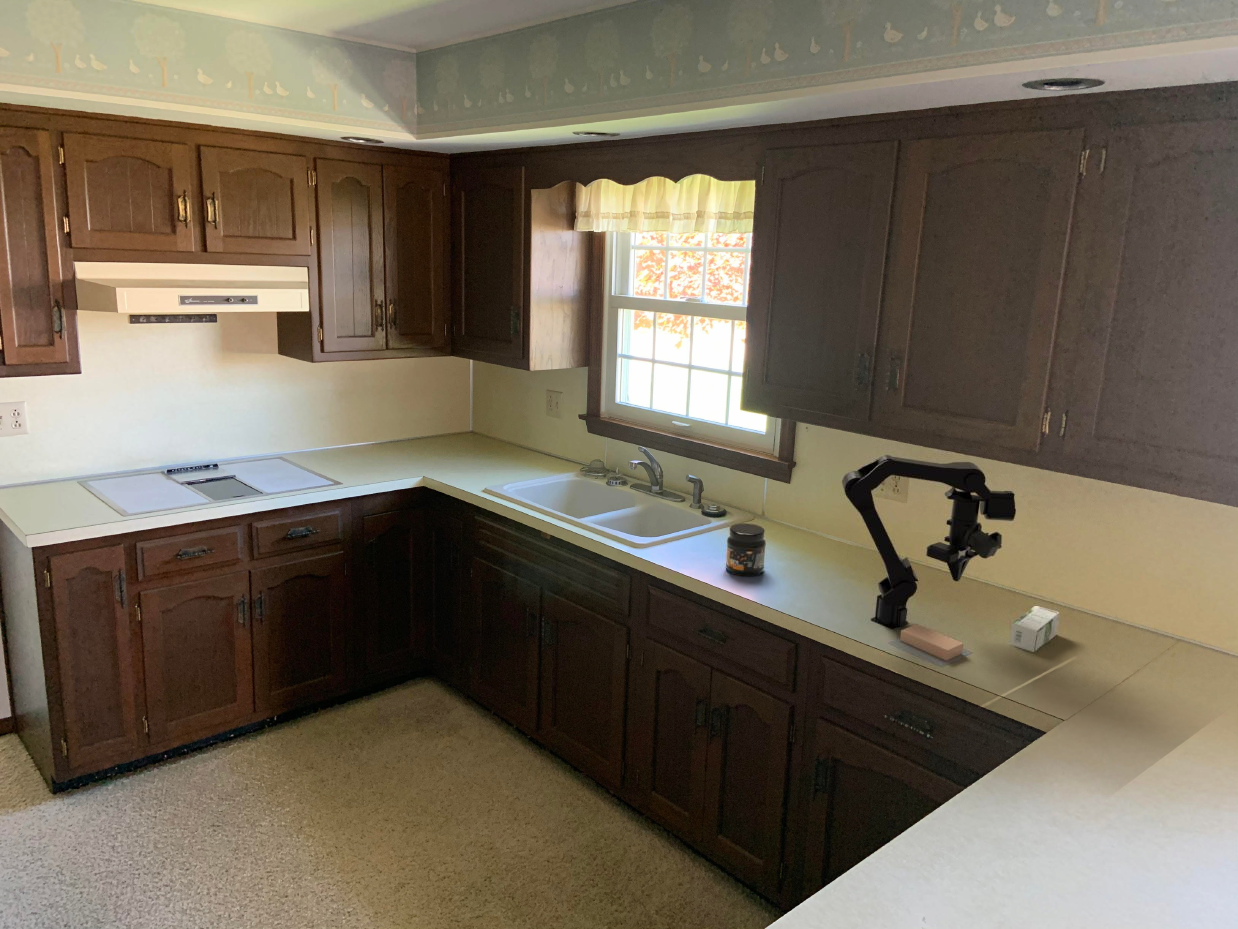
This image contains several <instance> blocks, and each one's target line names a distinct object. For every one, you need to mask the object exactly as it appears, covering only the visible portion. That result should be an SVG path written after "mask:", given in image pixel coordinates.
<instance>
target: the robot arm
mask: <svg viewBox="0 0 1238 929" xmlns="http://www.w3.org/2000/svg"><path fill="white" fill-rule="evenodd" d="M890 476H894V477H895V476H896V477H903V478H909V479H915V480H923V481H927V482H928V481H930V482H936V483H941V484H944V485H947V486H950V487H951V488H950V489H949V490H947V491H945V492H944V496H945V497H946V498H947V499H948V500H953V501H952V507H951V516H950V517H951V518H950V519H947V520H946V525H947V526H949V531H948V535H947V536H944V540H943V541H944V542H946V543H944V542H940V541H938V542H935V543H932V544H929V545H928V546H927V547H926V552H925V556H926V557H928V558H931V559H934V560H936V561H939V562H942V563H946V565H947V567H948V570H949V572H950V576H951V578H952V580H953V582H954V581H955V582H959V581H960V580H961V578H962V576H963V574H964V572H965V570H966V568H967V566H968V564H969V562H970V561H971V560H972V559H974V558H975V557H977V556H979V557H980V558H981V559H988V558H990V557H995V555H996V553H997V551H998V550H1000V549H1002V547H1003V546H1002V544H1003V536H1002V534H1001V533H1000V532H998V531H995V532H992V533H989V532H984V531H983V530H982V523H981V522H978V518H979V513H980V515H982V516H984V518H985V520H988V521H989V520H990V521H991V520H992V521H1005V522H1006V521H1007V522H1012V521H1014V519H1015V517H1016V513H1017V509H1016V501H1015V495H1016V494H1015V493H1014V492H1013V491H1012V490H1003V491H1002V490H1001V491H1000V490H990V488H989V487H988V486H987V485H986V475H985V473H984V472H983V471H982V470H981V469H980V468H979V467H978V465H977V464H975V463H974V462H971V461H953V462H948V463H939V462H932V461H931V462H930V461H926V460H918V459H910V458H903V457H898V456H897V457H896V456H892V455H890V454H883V455H881V456H880V457H879V458H877V459H875V460H874V461H871V462H869V463H867V464H865V465H862V467H860V468H858V469H857V470H851V471H849V472H847V473H846V474H844V476H843V478H842V479H841V480H842V481H841V484H842V488H843V491H844V495H845V496H846V498H847V499H848V500H849V502H850V504H852V505H853V507H854V509H856V511H857V512H858V513H859V514H860V516H861V518H862V520H863V522H864V523H865V526H866V528H867V530H868V532H869V534H870V537H871V538H872V540H873V542H874V545H875V547H876V548H877V551H878V553H879V555H880V557H881V560H882V561H883V566H884V570H885V573H886V577H885V578H884V579H882V580H881V581H879V582H878V583H877V587H878V589H879V593H880V594H878V595H877V596H876V603H875V612H874V613H875V614H874V617H871V618H870V621H872V622H873V623H876V624H879V625H880V626H882V627H885V628H888V629H889V630H895V629H898V628H900V627H902V626H905V625H907V624H909V621H907V616H908V608H907V602H908V600H909V599H910V598H911V597H913V596H914V595H915V594H916V592H917V590H918V585H917V582H919V579H918V577H917V574H916V572H915V571H914V569H913V567H912V565H911V563H910V561H909V559H908V556H906V557H905V558H903V559H902V558H901V557H900V556H899V554H898V553H897V550H896V549H895V547H894V544H893V543H892V540H891V539H890V536H889V534H888V532H887V530H886V528H885V525H884V523H883V521H882V519H881V517H880V515H879V513H878V511H877V509H876V506H875V501H874V497H873V494H872V492H873V490H875V489H877V488H878V487H879V486H880V485H881V484H882V483H883V482H884V481H886V480H887V479H888V478H889V477H890ZM947 543H949V544H947Z"/></svg>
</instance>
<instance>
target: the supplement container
mask: <svg viewBox="0 0 1238 929" xmlns="http://www.w3.org/2000/svg"><path fill="white" fill-rule="evenodd" d="M728 534H729V536H728V537H727V538H726V543H727V545H726V556H725V558H726V560H725V567H726V569H727V571H728V572H730V573H732V574H733V575H737V576H743V577H753V576H757V575H760V574H762V572H764V569H765V559H766V558H765V555H766V546H767V540H766V539H765V536H766V535H765V534H766V530H765V528H763V527H762V526H761V525H758V524H754V523H742V522H741V523H735V524H732V525H730V526H729V532H728Z"/></svg>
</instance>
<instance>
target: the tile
mask: <svg viewBox="0 0 1238 929" xmlns="http://www.w3.org/2000/svg"><path fill="white" fill-rule="evenodd" d="M899 638H900V641H903V642H905V643H907V644H909V645H912V646H914V647H916V648H919V649H921V650H923V651H925V652H928V653H930V654H932V655H934V656H937V657H939V658H941V659H943V660H946V661H947V660H949V659H951V658H953V657H955V656H958V655H960V654H962V649H963V648H964V643H963V642H961V641H959V640H956V639H953V638H951V637H949V636H948V635H947V636H946V635H945V634H943V633H939V632H938V631H935V630H932V629H930V628H928V627H925V626H923V625H921V624H919V623H915V624H913V625H911V626H909V627H906V628H904V629H901V631H900V637H899Z"/></svg>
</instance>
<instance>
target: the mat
mask: <svg viewBox="0 0 1238 929" xmlns="http://www.w3.org/2000/svg"><path fill="white" fill-rule="evenodd" d="M887 643H888V644H889V645H891V646H893V647H896V648H897V649H899V650H900V649H901V650H902V651H905V652H907V653H909V654H911V655H913V656H916V657H918V658H920V659H922V660H924V661H927V662H928V663H931V664H933V665H936V666H937V667H940V668H942V667H945V666H947V665H949V664H952V663H954V662H956V661H958V660H960V659H963V658H964V657H968V656H969V655H971V654H973V652H972V651H970V650H968V649H966V648H964V647H963V649H962V654H960V655H958V656H955V657H953V658H951V659H949V660H947V661H946V660H943V659H941V658H939V657H937V656H934V655H932V654H930V653H928V652H925V651H923V650H921V649H919V648H916V647H914V646H912V645H909V644H907V643H905V642H903V641H900V637H898V638H896V639H893V640H890V641H888V642H887Z"/></svg>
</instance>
